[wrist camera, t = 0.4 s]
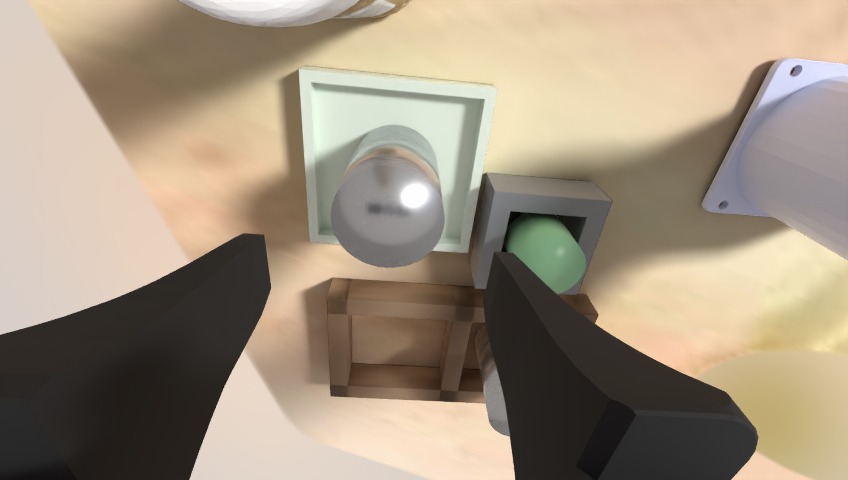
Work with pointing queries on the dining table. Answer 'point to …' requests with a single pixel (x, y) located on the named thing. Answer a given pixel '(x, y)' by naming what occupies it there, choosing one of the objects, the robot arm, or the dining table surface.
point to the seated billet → (491, 383)
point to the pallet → (417, 304)
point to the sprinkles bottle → (293, 10)
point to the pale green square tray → (394, 105)
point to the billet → (390, 199)
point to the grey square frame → (536, 195)
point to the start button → (546, 249)
